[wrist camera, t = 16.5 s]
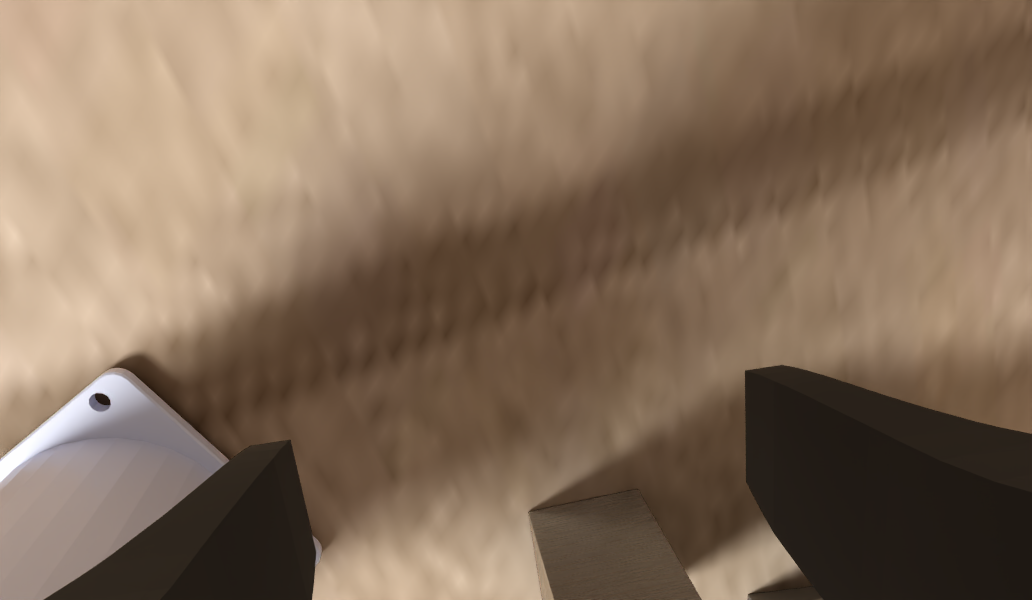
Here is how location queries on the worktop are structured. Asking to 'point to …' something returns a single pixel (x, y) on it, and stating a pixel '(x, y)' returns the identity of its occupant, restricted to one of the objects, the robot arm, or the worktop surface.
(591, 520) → the grey arch bracket
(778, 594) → the plug
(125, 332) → the worktop surface
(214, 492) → the robot arm
